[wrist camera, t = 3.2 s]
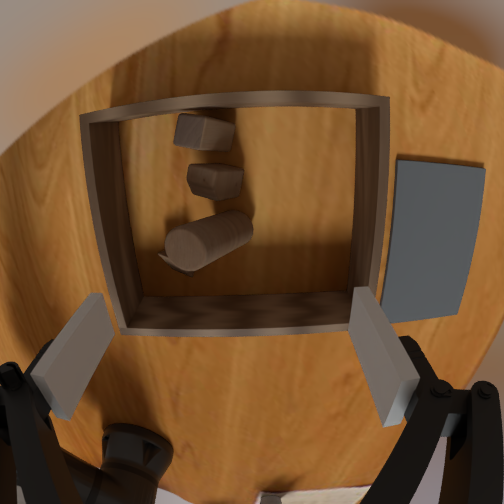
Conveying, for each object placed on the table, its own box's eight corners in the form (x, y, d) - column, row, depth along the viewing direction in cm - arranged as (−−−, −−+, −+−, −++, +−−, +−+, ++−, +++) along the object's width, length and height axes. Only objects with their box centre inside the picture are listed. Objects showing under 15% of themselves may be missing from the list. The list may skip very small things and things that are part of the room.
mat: (376, 322, 41) (377, 324, 40) (395, 159, 32) (397, 160, 32) (455, 312, 41) (457, 314, 40) (483, 168, 32) (485, 169, 32)
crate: (138, 303, 40) (121, 334, 33) (109, 114, 31) (79, 114, 24) (353, 296, 39) (369, 328, 33) (363, 100, 30) (389, 96, 24)
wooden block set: (205, 119, 33) (145, 107, 24) (277, 131, 31) (232, 118, 22) (180, 264, 40) (124, 292, 30) (241, 289, 37) (194, 328, 28)
